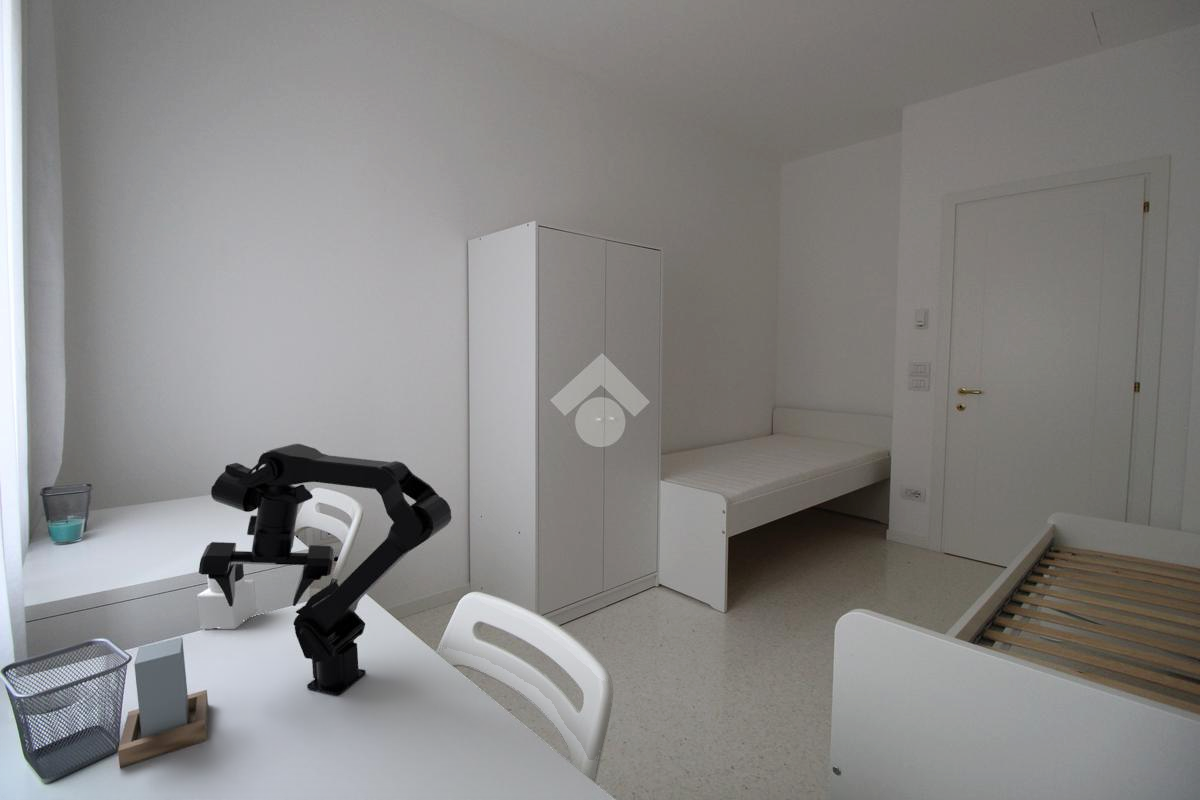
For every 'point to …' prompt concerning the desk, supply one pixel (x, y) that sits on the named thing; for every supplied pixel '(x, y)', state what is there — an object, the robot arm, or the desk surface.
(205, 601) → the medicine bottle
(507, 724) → the desk surface
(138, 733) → the walnut socket
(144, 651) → the grey key block
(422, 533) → the robot arm
